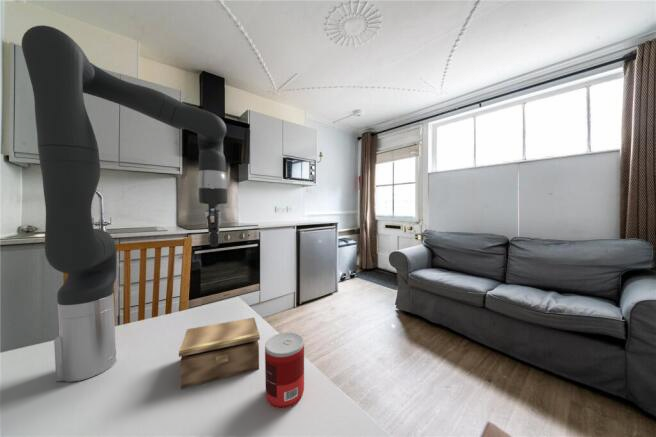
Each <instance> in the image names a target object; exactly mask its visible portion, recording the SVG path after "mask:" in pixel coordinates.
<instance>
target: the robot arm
mask: <svg viewBox="0 0 656 437" xmlns="http://www.w3.org/2000/svg"><path fill="white" fill-rule="evenodd" d="M21 49H22V54H23V57H24V61H25V65H26V67H27V73H28V75H29V80H30V83H31V88H32V92H33V93H32V94H33V98H34V99H33V102H34V117H35V119H34V120H35V126H36V135H37V136H36V138H37V139H36V140H37V152H38V161H39V164H40V171H41V176H42V178H41V179H42V187H43V197H44V198H43V199H44V203H45V204H44V205H45V228H44V230H45V232H44V253H45V258H46V260H47V262H48V264H49V265H50V267H52V269H55V270H56V271H57V272H60V273H63V274H67V277H66V278H65V279H66V280H65V282H63V284H62V286H61V287H60V288H59V289H58V291H57V294H56V295H57V296H56V301H57V315H58V330H59V331H58V332H59V335H58V336H57V337H55V339H54V340H53V344H54V363H55V380H56V381H55V382H61V381H63V382H68V383H69V382H70V383H71V382H78V381H83V380H84V381H85V380H87V379H90V378H92V377H96V376H97V375H99V374H101V373H104V372H105V371H107V370H108V369H110V368H111V367H113V365H115V363H116V362H117V346H116V345H117V343H116V323H115V322H116V320H115V303H114V302H115V301H114V300H115V298H114V285H115V282H116V279H117V268H118V266H117V262H118V261H117V259H118V258H117V257H118V256H117V254H118V253H117V246H116V241H115V239H114V238H113V236H112V235H111V234H110V233H108V232H107V231H105V230H103V229H99V228H94V223H93V216H92V204H93V200H94V196H95V193H96V191H97V189H98V185H99V182H100V179H101V178H100V177H101V161H100V152H99V144H98V141H97V138H96V135H95V132H94V128H93V126H92V122H91V120H90V117H89V114H88V112H87V108H86V105H85V100H84V94H87V95H90V96H93V97H97V98H100V99H103V100H106V101H109V102H112V103H115V104H118V105H120V106H122V107H125V108H128V109H130V110H132V111H135V112H138V113H140V114H143V115H145V116H146V117H149V118H152V119H154V120H156V121H159V122H161V123H163V124H165V125H168V126H170V127H172V128H175V129H178V130H188V131H191V132H193V133H194V134H195V133H196V134H197V141H198V142H197V144H198V150H199V154H198V182H197V184H198V185H197V186H198V203H199V204H201V205H208V207H207V210H205V217H206V226H207V231H208V234H209V247H211V248H217V247H219V233H220V226H221V216H222V210H221V209H219V205H227V203H228V179H227V172H226V171H227V169H226V168H227V166H226V165H227V164H226V163H227V162H226V157H225V154H224V138H225V136H226V134H227V125H226V123H225V121H224V120H223V119H222V118H221V117H219V116H218V115H216V114H215V113H212V112H210V111H208V110H205V109H202V108H199V107H195V106H192V105H188V104H186V103H184V102H182V101H180V100H178V99H176V98H174V97H173V96H170V95H169V94H166V93H163V92H162V91H159V90H157V89H154V88H151V87H148V86H147V87H146V86H144V85H140V84H136V83H133V82H129V81H126V80H123V79H121V78H118V77H116V76H114V75H112V74H110V73H108V72H107V71H105V70H104V69H102V68H100V67H98V66H97V65H95V64H94V63H92V62H90V60H89V58H88V57H87V55H86V54H85V52H84V50H83V49H82V47H81V46H80V45H78V43H77V42H76V41H75V40H74V39H73V38H72V37H70V36H69V35H68V34H66V33H65V32H63V31H62V30H60V29H58V28H56V27H53V26H50V25H45V24H44V25H42V24H41V25H35V26H32V27H30V28H28V29H27V30H26V31H25V32H24V33H23V36H22V38H21Z"/></svg>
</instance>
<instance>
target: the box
mask: <svg viewBox="0 0 656 437" xmlns="http://www.w3.org/2000/svg"><path fill="white" fill-rule="evenodd" d="M259 346H260V343H259V340H256V341H252V342H247V343H242V344H238V345H233V346H228V347H223V348H219V349H214V350H209V351H204V352H200V353H195V354H190V355H186V356H181V358H180V361H179V364H180V365H179V366H180V367H179V370H180V390H182V389H185V388H190V387H194V386H198V385H202V384H206V383H210V382H213V381H214V382H215V381H218V380H222V379H226V378H229V377H233V376H237V375H240V374H245V373H248V372H252V371H257V370H259V369H260V347H259Z"/></svg>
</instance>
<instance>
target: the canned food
mask: <svg viewBox="0 0 656 437" xmlns="http://www.w3.org/2000/svg"><path fill="white" fill-rule="evenodd" d="M264 363H265V364H264V368H265V370H264V371H265V372H264V374H265V377H264V378H265V397H266V400H267V403H268V404H269V405H270V406H271V407H273V408H276V409H287V408H290V407H293V406H294V405H297V403H298V402H299V401H300V400H301V399H302V397H303V395H304V391H305V341H304V338H303V336H302V335H301V334H299V333H295V332H280V333H278V334H275V335H273V336H271V337H269V338H268V339H267V340H266V342H265V346H264Z"/></svg>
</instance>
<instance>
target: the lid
mask: <svg viewBox="0 0 656 437" xmlns="http://www.w3.org/2000/svg"><path fill="white" fill-rule="evenodd" d="M256 340H258V341H260V340H261V335H260V332H259V329H258V326H257V322H256V318H255V317H249V318H244V319H237V320H231V321H227V322H226V321H225V322H222V323H216V324H208V325H203V326H198V327H191V328H187V329H186V332H185V334H184V337H183V340H182V343H181V345H180V348H179V350H178V358H179V357H182V356H186V355H190V354H195V353H200V352H204V351H209V350H214V349H219V348H223V347H228V346H233V345H238V344H242V343H247V342H252V341H256Z"/></svg>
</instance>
